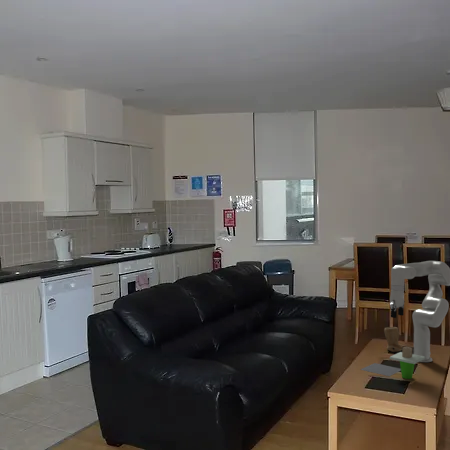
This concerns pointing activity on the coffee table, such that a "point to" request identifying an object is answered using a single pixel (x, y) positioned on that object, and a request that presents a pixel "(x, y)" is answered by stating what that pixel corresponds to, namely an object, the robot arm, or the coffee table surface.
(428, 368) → the coffee table surface
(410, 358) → the lid
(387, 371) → the mat
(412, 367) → the cup
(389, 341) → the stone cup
